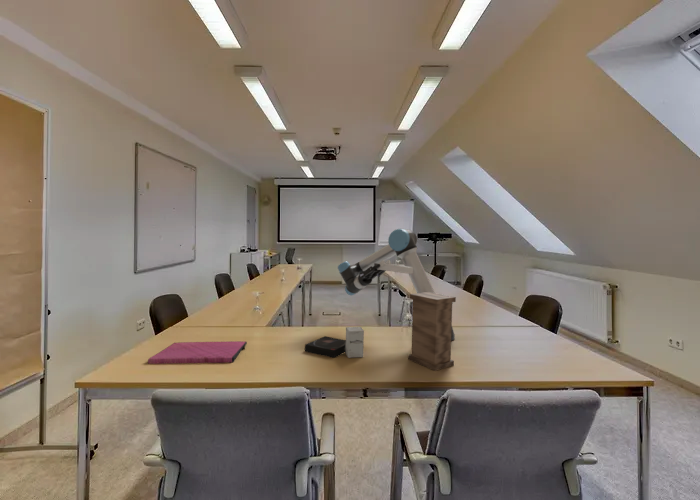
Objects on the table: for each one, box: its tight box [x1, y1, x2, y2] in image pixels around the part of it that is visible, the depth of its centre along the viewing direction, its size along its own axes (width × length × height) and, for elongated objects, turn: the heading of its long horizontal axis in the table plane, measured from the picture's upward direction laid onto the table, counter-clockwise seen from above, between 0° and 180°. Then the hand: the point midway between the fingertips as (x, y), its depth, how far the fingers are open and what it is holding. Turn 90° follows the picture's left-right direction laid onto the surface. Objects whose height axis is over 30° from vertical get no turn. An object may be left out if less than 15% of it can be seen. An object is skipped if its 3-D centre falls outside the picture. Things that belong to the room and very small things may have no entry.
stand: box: [407, 292, 457, 372], centre depth 157 cm, size 12×16×30 cm
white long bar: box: [374, 263, 413, 275], centre depth 178 cm, size 3×26×3 cm, turn 34°
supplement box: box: [345, 326, 365, 358], centre depth 165 cm, size 7×7×13 cm
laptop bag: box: [147, 340, 248, 365], centre depth 165 cm, size 40×4×27 cm
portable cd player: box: [304, 335, 346, 359], centre depth 172 cm, size 16×17×4 cm
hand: (387, 262), depth 181 cm, fingers closed on white long bar, 3 cm apart
